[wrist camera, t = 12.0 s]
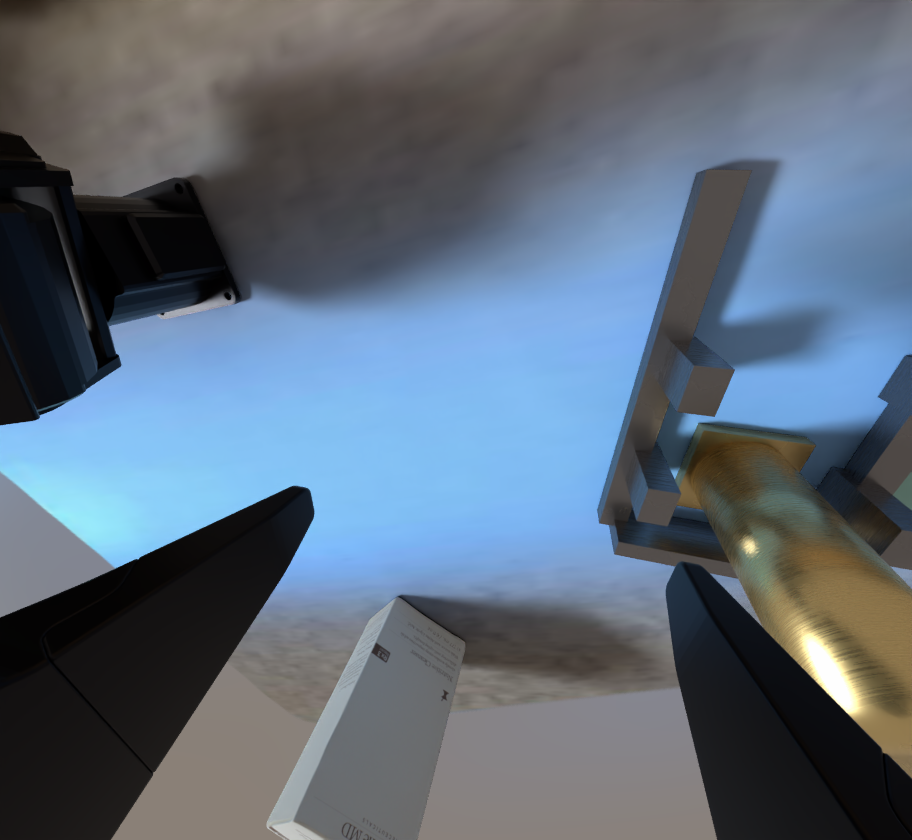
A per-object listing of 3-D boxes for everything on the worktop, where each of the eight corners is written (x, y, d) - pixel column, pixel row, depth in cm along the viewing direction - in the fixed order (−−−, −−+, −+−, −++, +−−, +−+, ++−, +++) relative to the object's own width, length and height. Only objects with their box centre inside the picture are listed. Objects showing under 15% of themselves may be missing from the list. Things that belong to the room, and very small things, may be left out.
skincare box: (468, 640, 34) (416, 897, 21) (433, 662, 37) (369, 897, 24) (393, 591, 33) (290, 828, 20) (363, 617, 36) (258, 837, 23)
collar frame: (595, 515, 24) (603, 573, 20) (696, 173, 15) (746, 157, 11) (879, 567, 21) (952, 644, 17) (1218, 181, 12) (1532, 163, 8)
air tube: (668, 495, 22) (777, 758, 11) (698, 422, 20) (873, 669, 9) (762, 511, 21) (977, 812, 10) (806, 437, 19) (1146, 730, 8)
